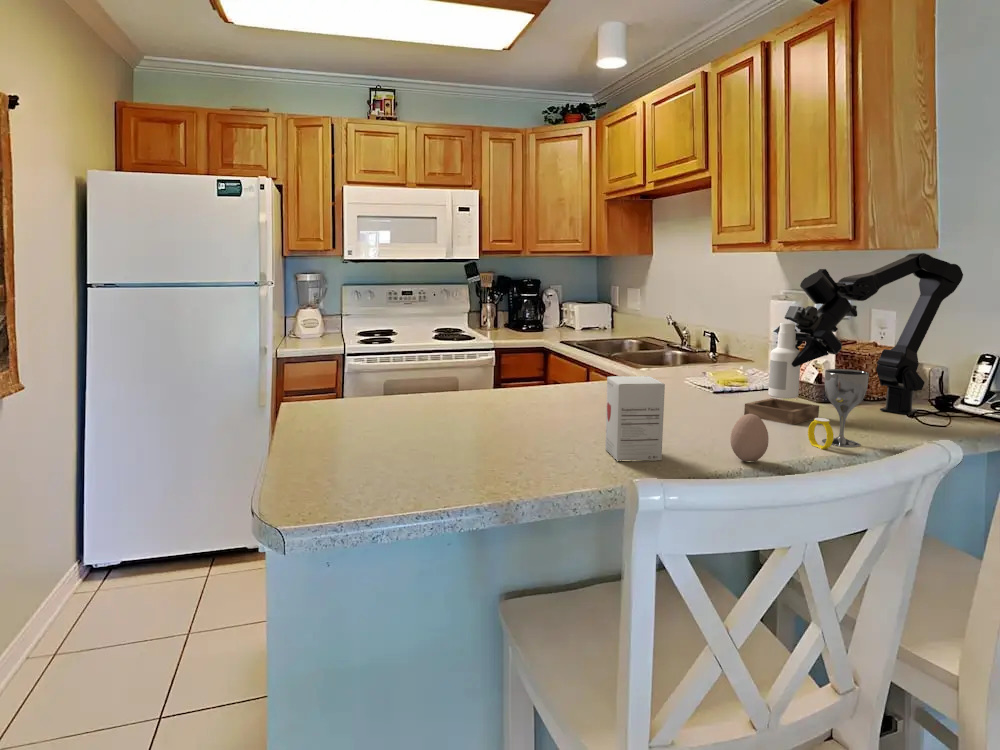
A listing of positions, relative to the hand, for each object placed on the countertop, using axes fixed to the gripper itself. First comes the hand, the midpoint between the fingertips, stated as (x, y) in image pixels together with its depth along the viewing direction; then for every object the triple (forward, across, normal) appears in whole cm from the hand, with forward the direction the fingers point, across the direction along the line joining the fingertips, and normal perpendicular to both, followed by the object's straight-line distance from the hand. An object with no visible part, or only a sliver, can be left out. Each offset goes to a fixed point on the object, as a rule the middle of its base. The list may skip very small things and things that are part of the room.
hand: (783, 363), depth 158 cm
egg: (+30, +34, -12) cm, 47 cm away
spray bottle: (+6, 0, +6) cm, 8 cm away
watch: (+16, +27, +3) cm, 32 cm away
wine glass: (+12, +25, +8) cm, 29 cm away
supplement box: (+44, +26, -26) cm, 57 cm away
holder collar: (+9, 0, +9) cm, 13 cm away
